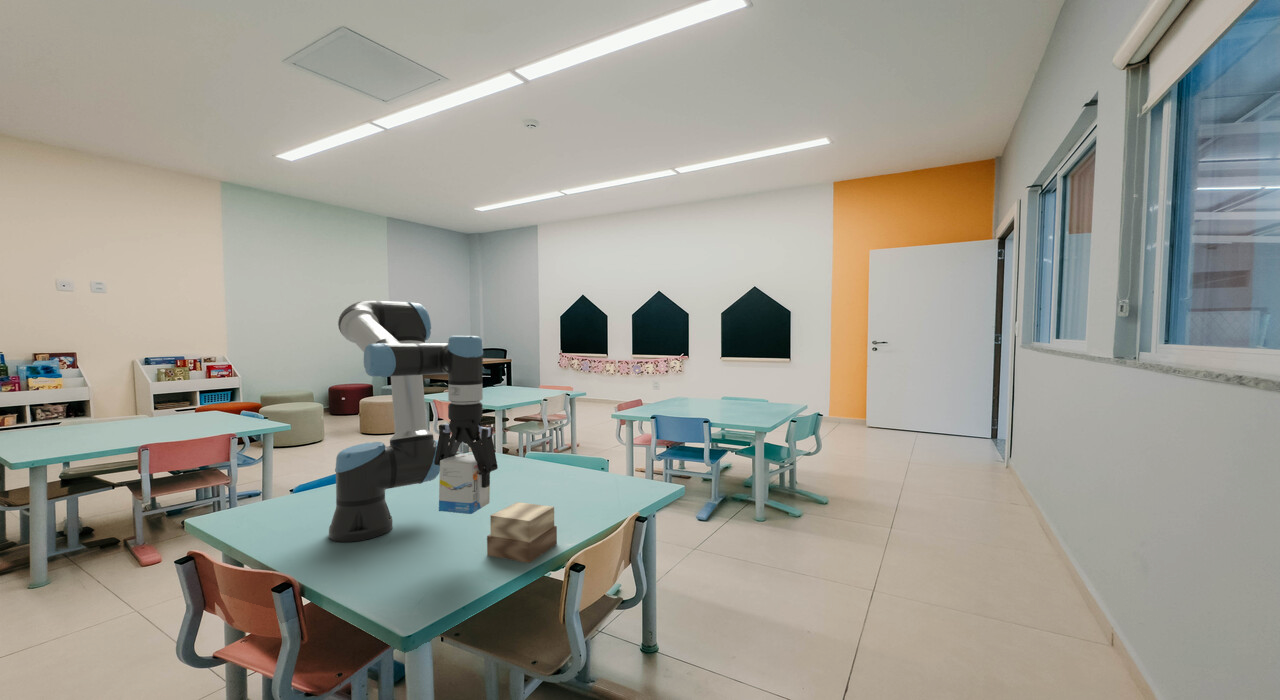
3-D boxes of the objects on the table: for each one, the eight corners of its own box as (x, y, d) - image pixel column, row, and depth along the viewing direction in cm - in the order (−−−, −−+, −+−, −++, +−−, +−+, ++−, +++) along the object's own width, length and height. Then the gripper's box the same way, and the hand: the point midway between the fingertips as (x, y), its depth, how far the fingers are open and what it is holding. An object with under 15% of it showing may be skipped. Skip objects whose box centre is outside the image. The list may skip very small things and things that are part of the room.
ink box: (471, 514, 114) (472, 462, 113) (437, 511, 115) (438, 460, 115) (490, 503, 122) (491, 454, 122) (459, 500, 124) (459, 452, 124)
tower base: (487, 556, 122) (487, 536, 122) (517, 539, 133) (517, 520, 133) (529, 564, 118) (529, 543, 118) (556, 545, 129) (556, 525, 129)
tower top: (490, 536, 122) (490, 515, 122) (517, 521, 132) (517, 502, 132) (529, 542, 118) (529, 521, 118) (554, 526, 128) (554, 506, 128)
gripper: (417, 401, 119) (417, 496, 119) (493, 407, 111) (493, 509, 111) (440, 397, 126) (440, 488, 126) (514, 402, 117) (514, 499, 118)
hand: (465, 498), depth 119 cm, fingers closed on ink box, 9 cm apart
